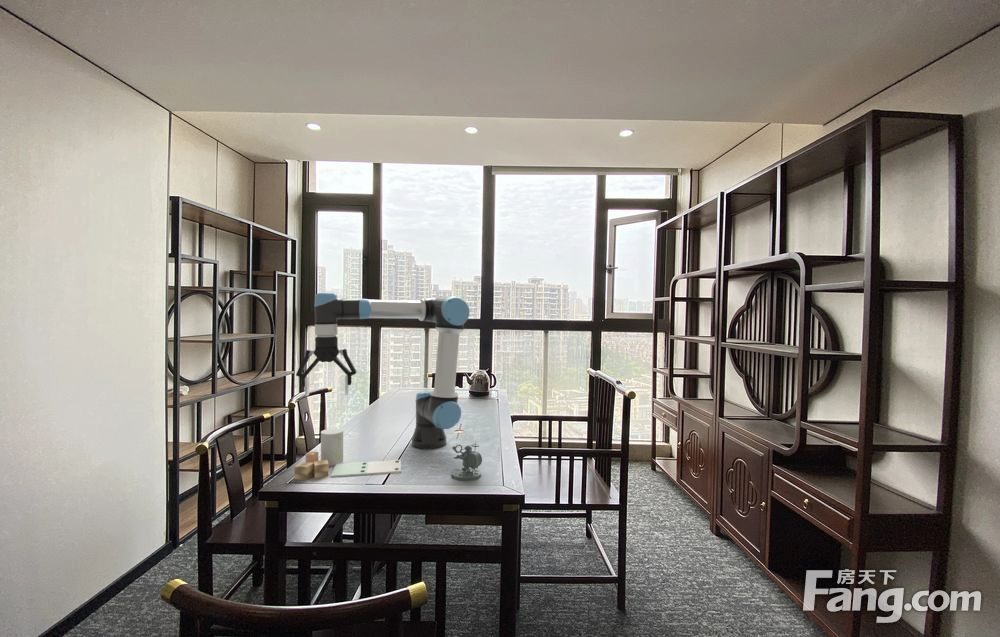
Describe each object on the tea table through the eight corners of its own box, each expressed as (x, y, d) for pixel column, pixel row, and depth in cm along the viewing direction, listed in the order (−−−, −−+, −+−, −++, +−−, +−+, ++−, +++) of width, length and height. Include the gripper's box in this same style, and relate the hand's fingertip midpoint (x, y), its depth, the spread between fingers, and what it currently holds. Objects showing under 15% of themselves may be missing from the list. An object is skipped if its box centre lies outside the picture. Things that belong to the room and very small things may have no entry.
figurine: (462, 468, 169) (463, 436, 169) (487, 473, 163) (487, 441, 163) (445, 477, 160) (445, 443, 159) (470, 483, 154) (470, 448, 154)
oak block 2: (327, 472, 164) (327, 459, 164) (328, 476, 160) (328, 463, 160) (314, 473, 162) (314, 461, 162) (314, 478, 158) (314, 465, 158)
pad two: (401, 461, 175) (401, 459, 175) (400, 472, 164) (400, 470, 164) (369, 463, 173) (369, 461, 173) (366, 474, 161) (366, 472, 161)
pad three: (369, 463, 173) (369, 461, 173) (366, 474, 161) (366, 472, 161) (336, 465, 170) (336, 463, 170) (331, 477, 159) (331, 474, 159)
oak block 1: (313, 475, 160) (313, 462, 160) (307, 479, 156) (306, 467, 156) (301, 474, 161) (301, 462, 161) (294, 479, 157) (294, 466, 156)
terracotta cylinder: (319, 467, 168) (319, 451, 168) (317, 471, 164) (317, 455, 164) (306, 467, 167) (306, 451, 167) (304, 472, 163) (304, 455, 163)
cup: (335, 466, 169) (335, 434, 169) (316, 464, 171) (316, 433, 170) (347, 459, 177) (347, 429, 177) (328, 457, 179) (328, 427, 178)
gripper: (363, 334, 168) (364, 391, 169) (291, 335, 163) (292, 394, 164) (361, 336, 160) (362, 395, 161) (286, 337, 155) (287, 398, 156)
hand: (327, 394), depth 162 cm, fingers open, 13 cm apart
